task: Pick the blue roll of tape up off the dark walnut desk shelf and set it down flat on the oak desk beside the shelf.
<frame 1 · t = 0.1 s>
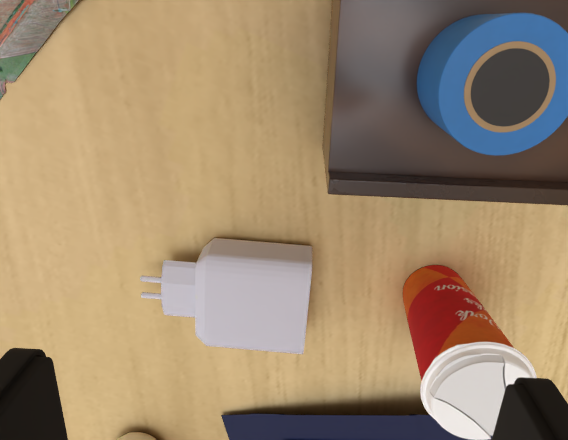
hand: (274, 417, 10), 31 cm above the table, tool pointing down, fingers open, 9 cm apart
tape roll: (475, 77, 27), point 10 cm above the table, touching desk shelf
desk shelf: (430, 76, 37), on the table
paper cup: (431, 289, 44), on the table
map: (0, 46, 38), on the table
charger: (228, 278, 45), on the table
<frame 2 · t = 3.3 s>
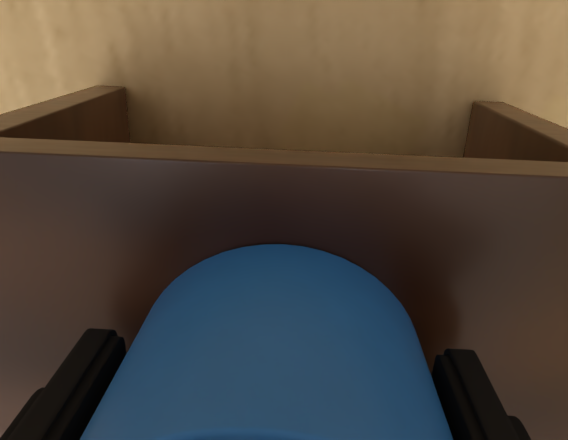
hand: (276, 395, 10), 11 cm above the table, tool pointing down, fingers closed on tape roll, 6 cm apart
tape roll: (278, 368, 11), point 10 cm above the table, touching desk shelf, gripper
desk shelf: (291, 233, 21), on the table
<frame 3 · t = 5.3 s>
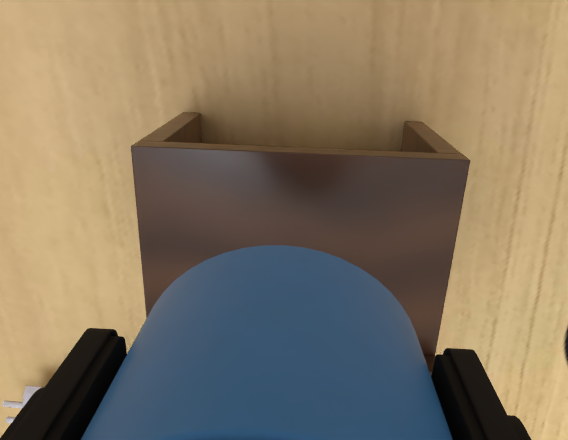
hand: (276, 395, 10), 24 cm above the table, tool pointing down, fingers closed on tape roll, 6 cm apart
tape roll: (279, 368, 11), point 23 cm above the table, touching gripper
desk shelf: (298, 201, 34), on the table
charger: (107, 396, 42), on the table
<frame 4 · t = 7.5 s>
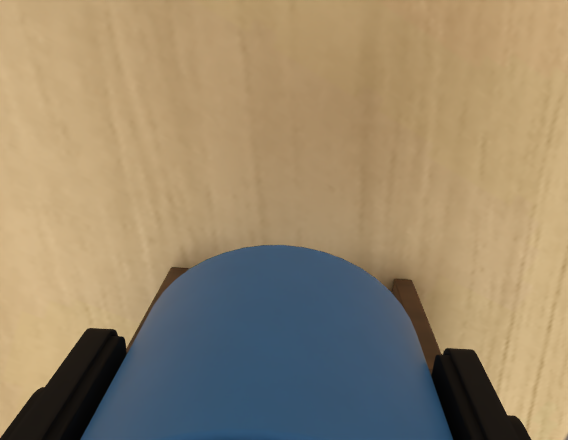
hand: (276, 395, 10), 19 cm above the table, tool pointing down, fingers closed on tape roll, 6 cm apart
tape roll: (279, 369, 11), point 19 cm above the table, touching gripper
desk shelf: (287, 347, 34), on the table
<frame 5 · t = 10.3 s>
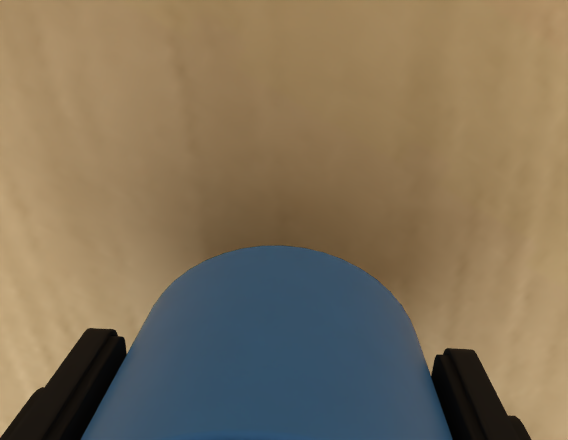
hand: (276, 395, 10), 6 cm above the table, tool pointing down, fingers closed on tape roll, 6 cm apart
tape roll: (278, 369, 11), point 5 cm above the table, touching gripper
when the fingers open (1 cm above the table, at t = 12.1 s): tape roll stays where it is, on the table.
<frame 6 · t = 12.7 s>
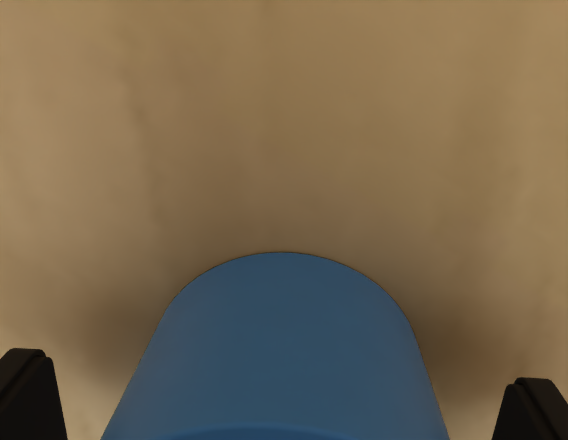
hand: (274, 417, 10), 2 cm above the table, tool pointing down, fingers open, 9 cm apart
tape roll: (284, 369, 12), on the table
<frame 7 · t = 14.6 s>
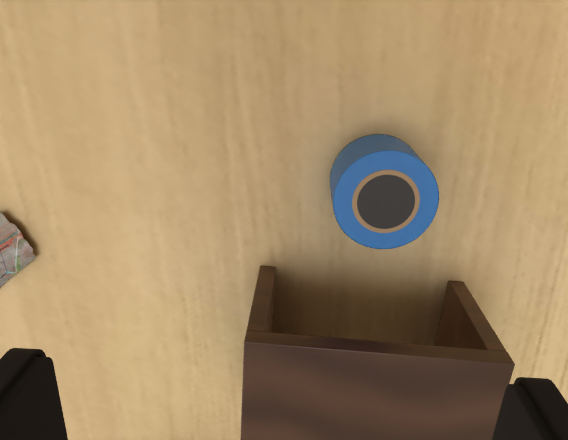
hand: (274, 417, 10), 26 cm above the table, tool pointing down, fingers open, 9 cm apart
tape roll: (375, 179, 35), on the table
desk shelf: (352, 337, 40), on the table
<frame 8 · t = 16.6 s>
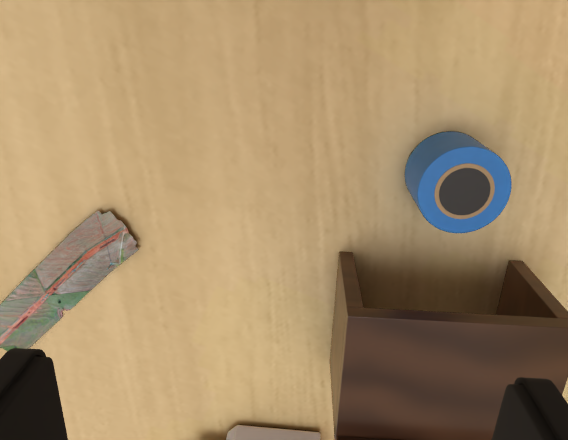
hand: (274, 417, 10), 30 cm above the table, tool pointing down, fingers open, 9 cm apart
tape roll: (445, 171, 39), on the table
desk shelf: (420, 313, 44), on the table
map: (59, 284, 45), on the table
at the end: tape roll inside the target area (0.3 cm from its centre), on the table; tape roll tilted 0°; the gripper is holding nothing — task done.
